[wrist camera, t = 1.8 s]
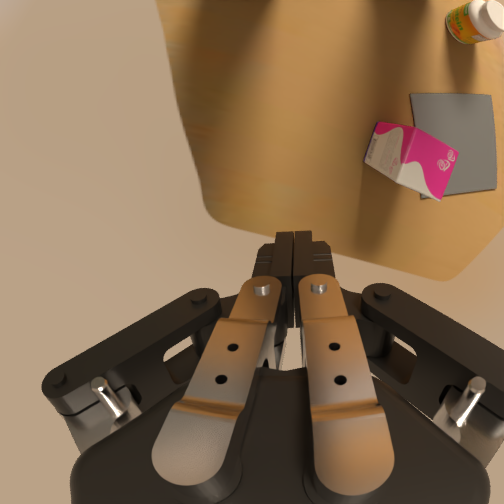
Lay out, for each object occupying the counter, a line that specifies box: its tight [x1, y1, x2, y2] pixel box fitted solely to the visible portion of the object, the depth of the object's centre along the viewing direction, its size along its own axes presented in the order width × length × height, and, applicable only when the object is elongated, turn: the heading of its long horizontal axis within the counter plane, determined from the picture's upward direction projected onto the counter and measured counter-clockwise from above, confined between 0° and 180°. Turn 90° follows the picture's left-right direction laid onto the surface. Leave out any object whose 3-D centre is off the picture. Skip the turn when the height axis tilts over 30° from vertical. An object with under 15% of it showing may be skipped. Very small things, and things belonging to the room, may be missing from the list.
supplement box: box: [363, 121, 459, 202], centre depth 29 cm, size 6×6×12 cm
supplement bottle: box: [446, 0, 504, 44], centre depth 21 cm, size 5×5×10 cm
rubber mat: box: [410, 93, 497, 198], centre depth 32 cm, size 14×14×1 cm
